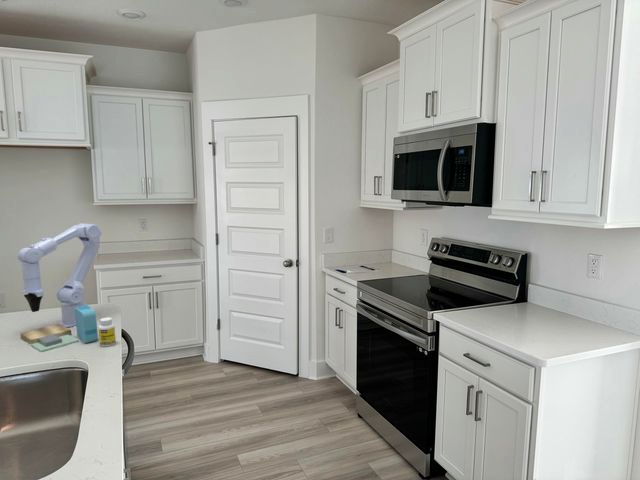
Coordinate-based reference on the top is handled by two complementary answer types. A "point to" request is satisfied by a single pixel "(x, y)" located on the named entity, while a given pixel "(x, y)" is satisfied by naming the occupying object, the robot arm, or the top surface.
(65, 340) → the green mat
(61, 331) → the oak board
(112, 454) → the top surface
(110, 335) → the supplement bottle
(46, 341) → the slate tile
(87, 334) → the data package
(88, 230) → the robot arm
